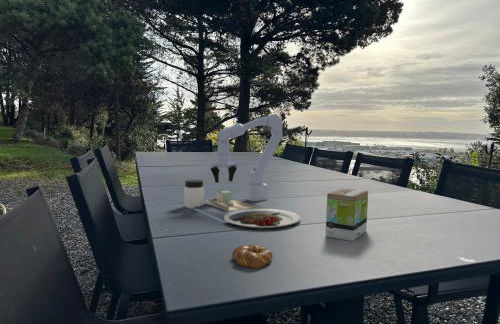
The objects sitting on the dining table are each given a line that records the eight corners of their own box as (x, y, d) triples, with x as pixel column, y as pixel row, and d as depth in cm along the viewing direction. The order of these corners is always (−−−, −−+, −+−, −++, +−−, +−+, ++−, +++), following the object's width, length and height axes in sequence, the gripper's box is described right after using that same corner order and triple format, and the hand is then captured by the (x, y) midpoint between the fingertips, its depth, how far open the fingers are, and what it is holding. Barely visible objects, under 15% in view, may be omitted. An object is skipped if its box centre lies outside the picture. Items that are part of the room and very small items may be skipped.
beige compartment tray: (235, 201, 183) (235, 195, 182) (258, 209, 166) (258, 202, 166) (206, 205, 174) (206, 199, 174) (226, 213, 157) (226, 206, 157)
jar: (207, 207, 170) (207, 181, 169) (191, 209, 165) (191, 182, 164) (196, 204, 177) (196, 179, 176) (181, 206, 172) (181, 180, 171)
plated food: (260, 209, 167) (260, 202, 166) (316, 221, 145) (316, 212, 145) (207, 220, 146) (207, 212, 145) (263, 236, 124) (263, 226, 124)
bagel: (275, 269, 95) (276, 255, 94) (233, 270, 94) (233, 256, 93) (269, 254, 107) (269, 241, 106) (231, 254, 106) (231, 242, 105)
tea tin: (224, 202, 176) (224, 189, 176) (231, 205, 170) (231, 192, 170) (216, 203, 174) (216, 190, 173) (223, 205, 168) (223, 192, 168)
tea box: (354, 242, 118) (356, 195, 116) (324, 237, 123) (325, 193, 122) (367, 231, 130) (368, 189, 129) (339, 227, 136) (340, 187, 134)
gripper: (214, 155, 173) (214, 184, 175) (240, 154, 181) (240, 181, 182) (207, 154, 179) (207, 182, 181) (233, 153, 187) (233, 180, 188)
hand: (223, 182), depth 182 cm, fingers open, 7 cm apart
